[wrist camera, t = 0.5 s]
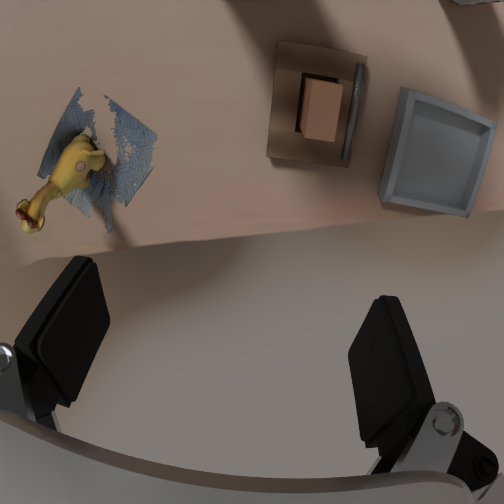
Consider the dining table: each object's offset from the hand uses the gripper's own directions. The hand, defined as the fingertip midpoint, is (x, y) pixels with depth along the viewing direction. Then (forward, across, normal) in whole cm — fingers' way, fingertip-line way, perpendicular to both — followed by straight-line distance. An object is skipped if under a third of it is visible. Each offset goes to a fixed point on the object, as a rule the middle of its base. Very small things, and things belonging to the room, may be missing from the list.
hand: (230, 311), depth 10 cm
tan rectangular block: (+30, -6, -4) cm, 31 cm away
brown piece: (+30, -6, -4) cm, 31 cm away
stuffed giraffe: (+31, +23, +6) cm, 39 cm away
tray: (+30, -24, -2) cm, 39 cm away
